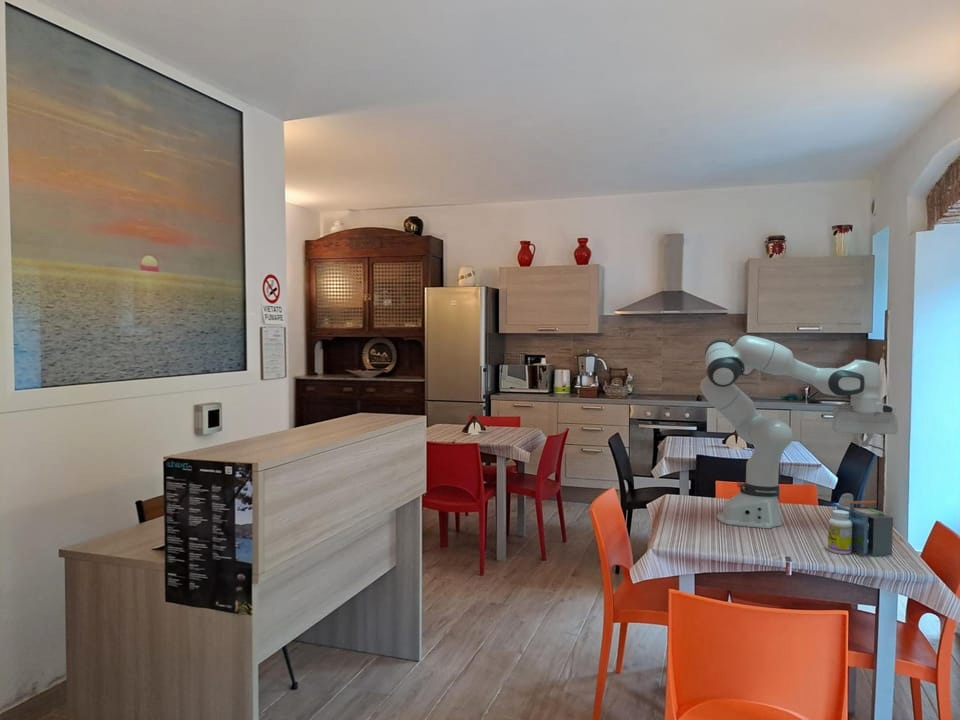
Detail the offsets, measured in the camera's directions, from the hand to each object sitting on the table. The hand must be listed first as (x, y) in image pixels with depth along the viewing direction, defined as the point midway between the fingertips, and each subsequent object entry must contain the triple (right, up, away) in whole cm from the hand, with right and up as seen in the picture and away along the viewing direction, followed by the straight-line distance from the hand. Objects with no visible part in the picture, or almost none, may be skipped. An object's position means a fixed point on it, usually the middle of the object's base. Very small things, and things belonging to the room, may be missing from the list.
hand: (863, 446), depth 233 cm
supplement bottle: (-18, -32, -18) cm, 40 cm away
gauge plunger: (-10, -30, -16) cm, 36 cm away
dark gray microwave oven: (-8, -31, -16) cm, 36 cm away
